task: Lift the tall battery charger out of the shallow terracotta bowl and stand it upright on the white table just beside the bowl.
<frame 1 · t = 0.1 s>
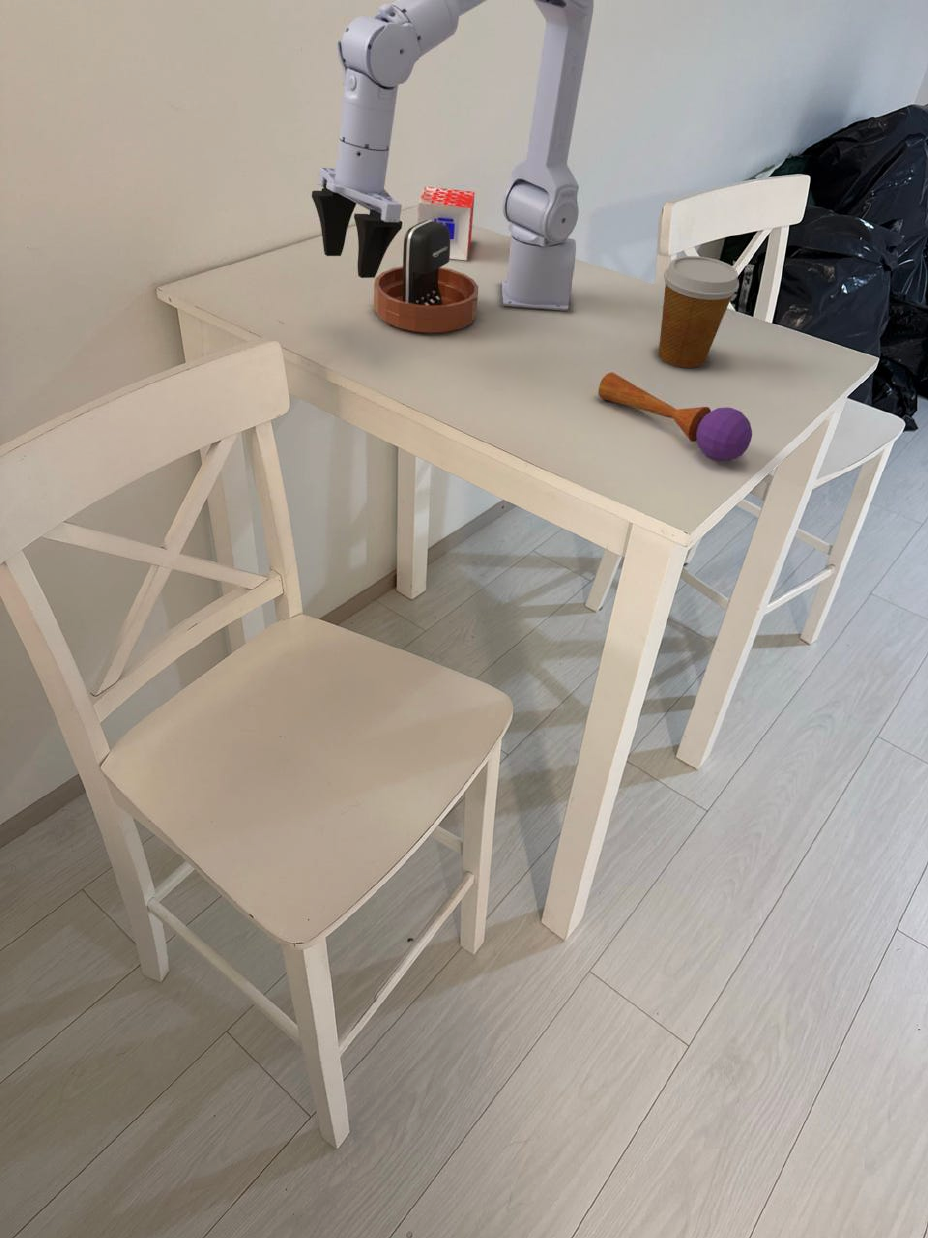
hand: (349, 265, 111), 11 cm above the table, tool pointing down, fingers open, 7 cm apart
battery charger: (425, 311, 127), resting on bowl
bowl: (425, 313, 127), on the table
disposable coffee cup: (681, 358, 123), on the table
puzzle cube: (444, 249, 146), on the table
kendama: (668, 432, 108), on the table
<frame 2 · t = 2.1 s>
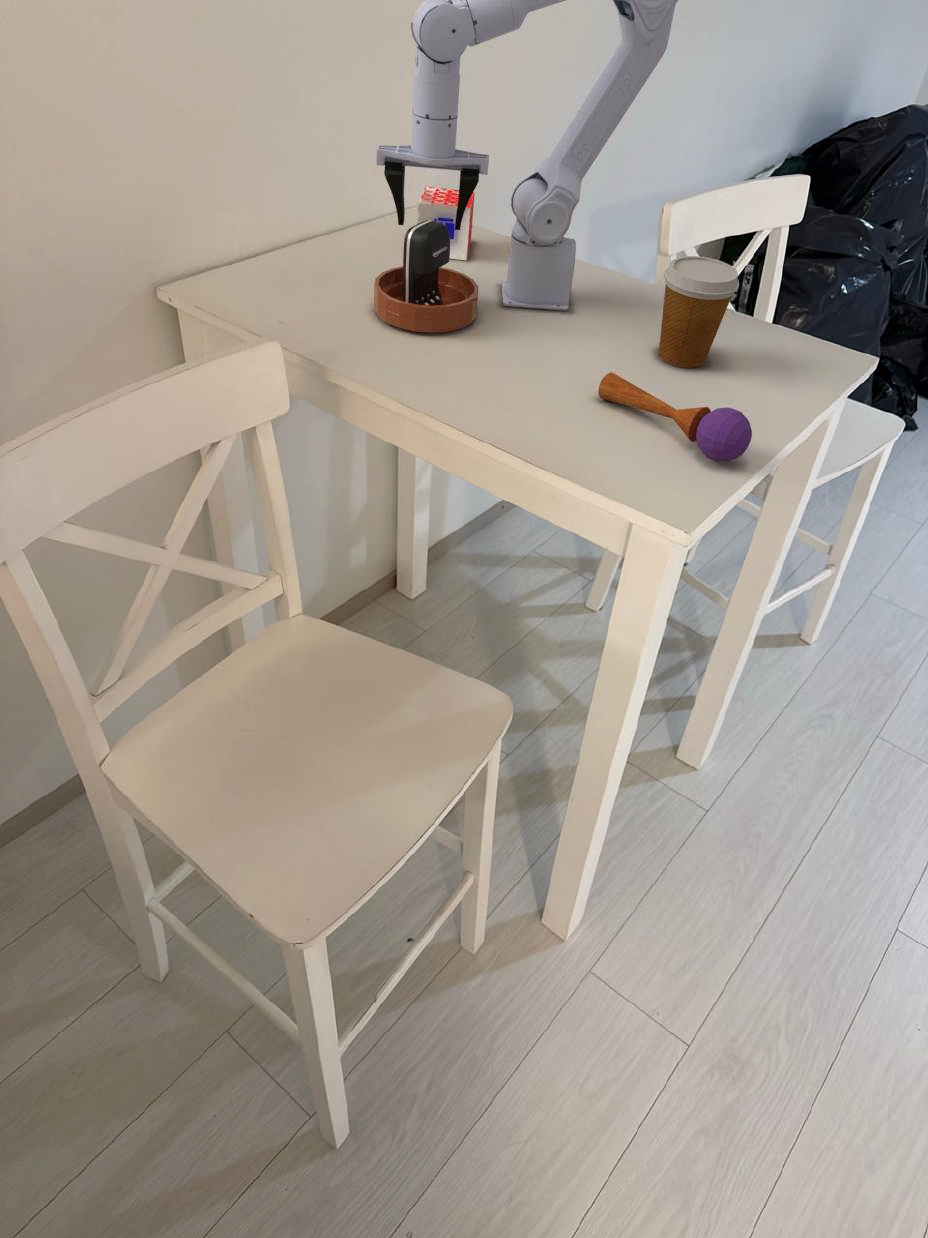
hand: (429, 224, 123), 10 cm above the table, tool pointing down, fingers open, 7 cm apart
nothing on the table moved.
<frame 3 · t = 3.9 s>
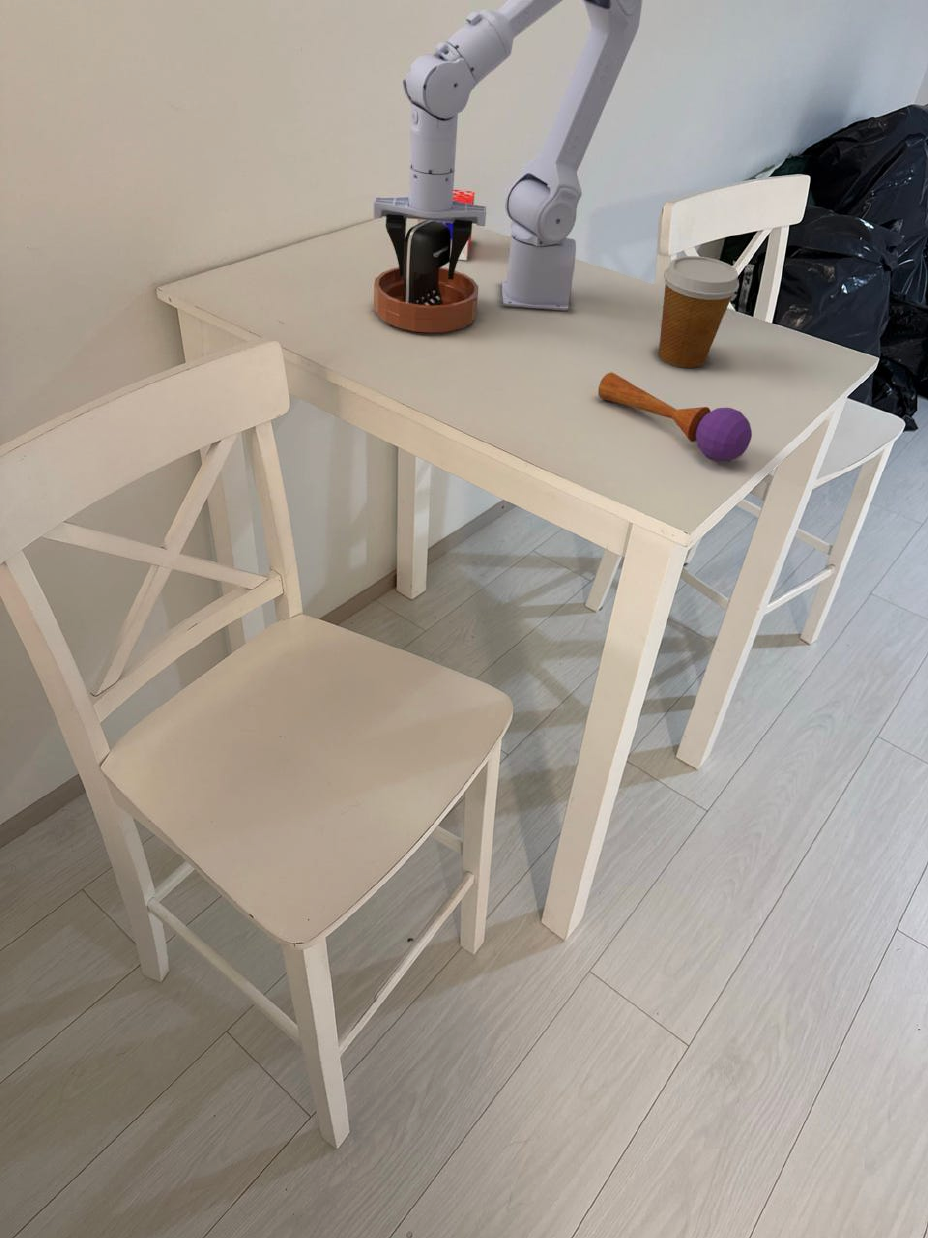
hand: (427, 274, 123), 5 cm above the table, tool pointing down, fingers closed on battery charger, 6 cm apart
battery charger: (425, 310, 127), resting on bowl, touching gripper
everything else where it was.
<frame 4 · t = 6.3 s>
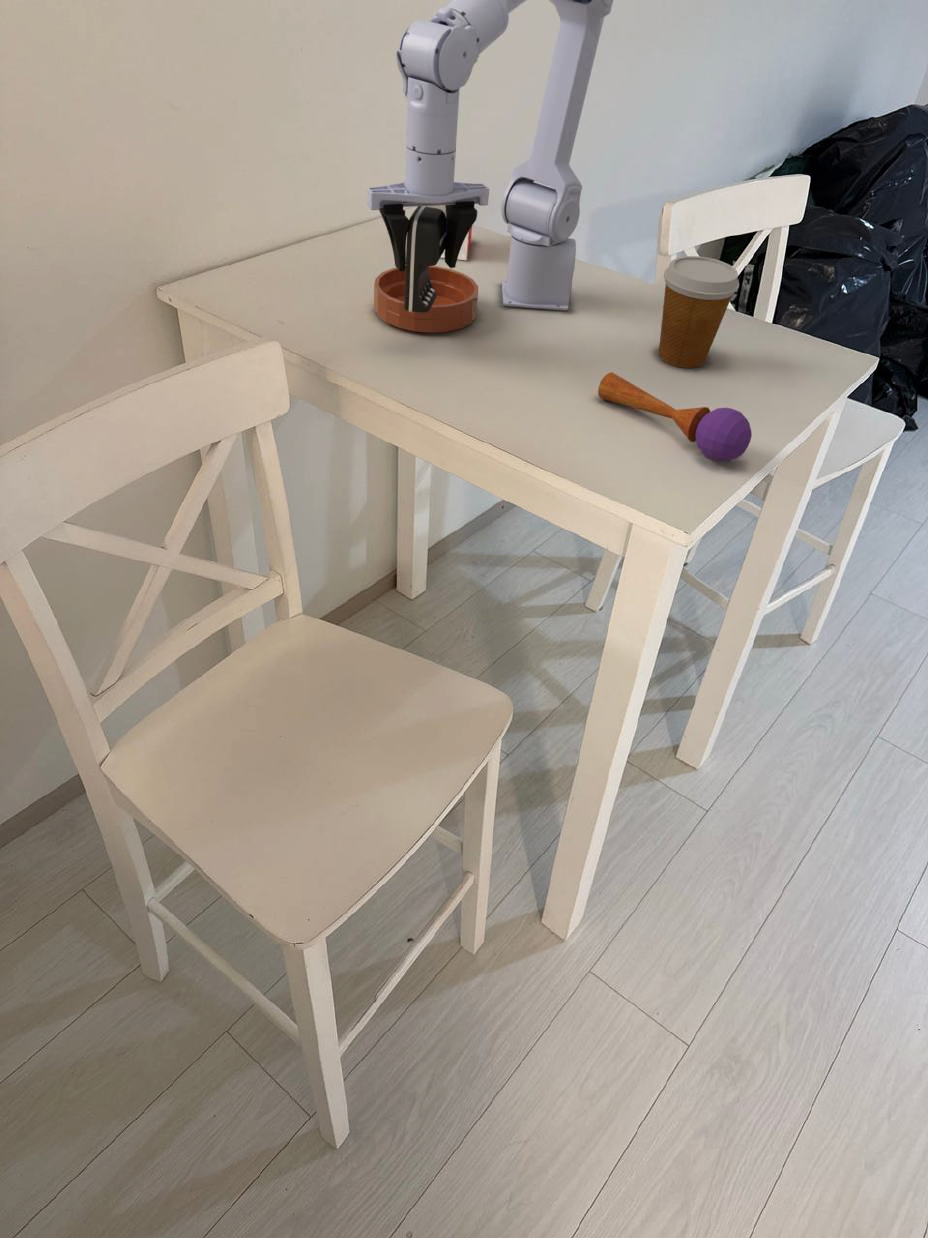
hand: (425, 266, 112), 10 cm above the table, tool pointing down, fingers closed on battery charger, 6 cm apart
battery charger: (423, 306, 116), point 5 cm above the table, touching gripper
everything else where it was.
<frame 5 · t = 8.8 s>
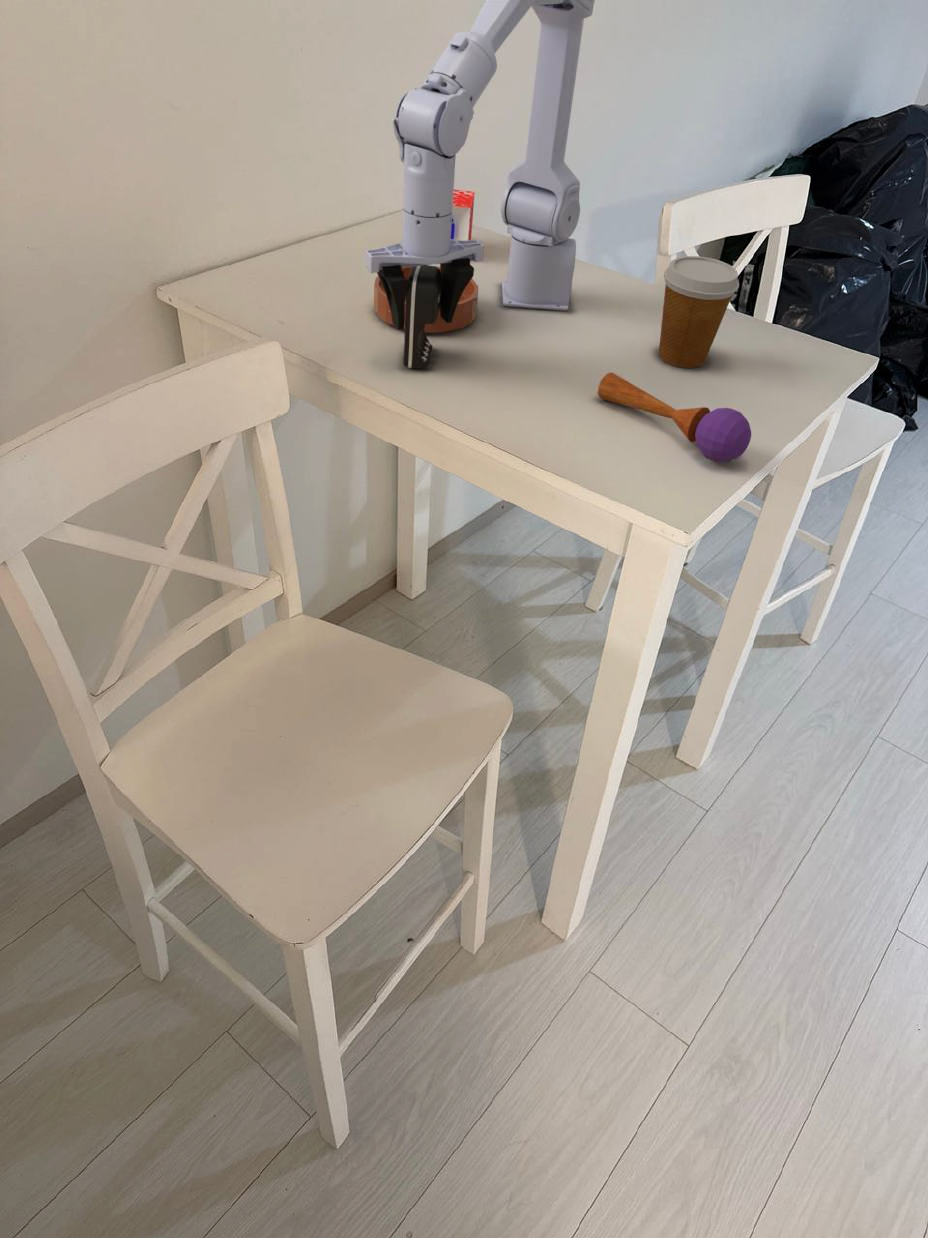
hand: (422, 322, 113), 5 cm above the table, tool pointing down, fingers closed on battery charger, 6 cm apart
battery charger: (420, 360, 117), on the table, touching gripper
everything else where it was.
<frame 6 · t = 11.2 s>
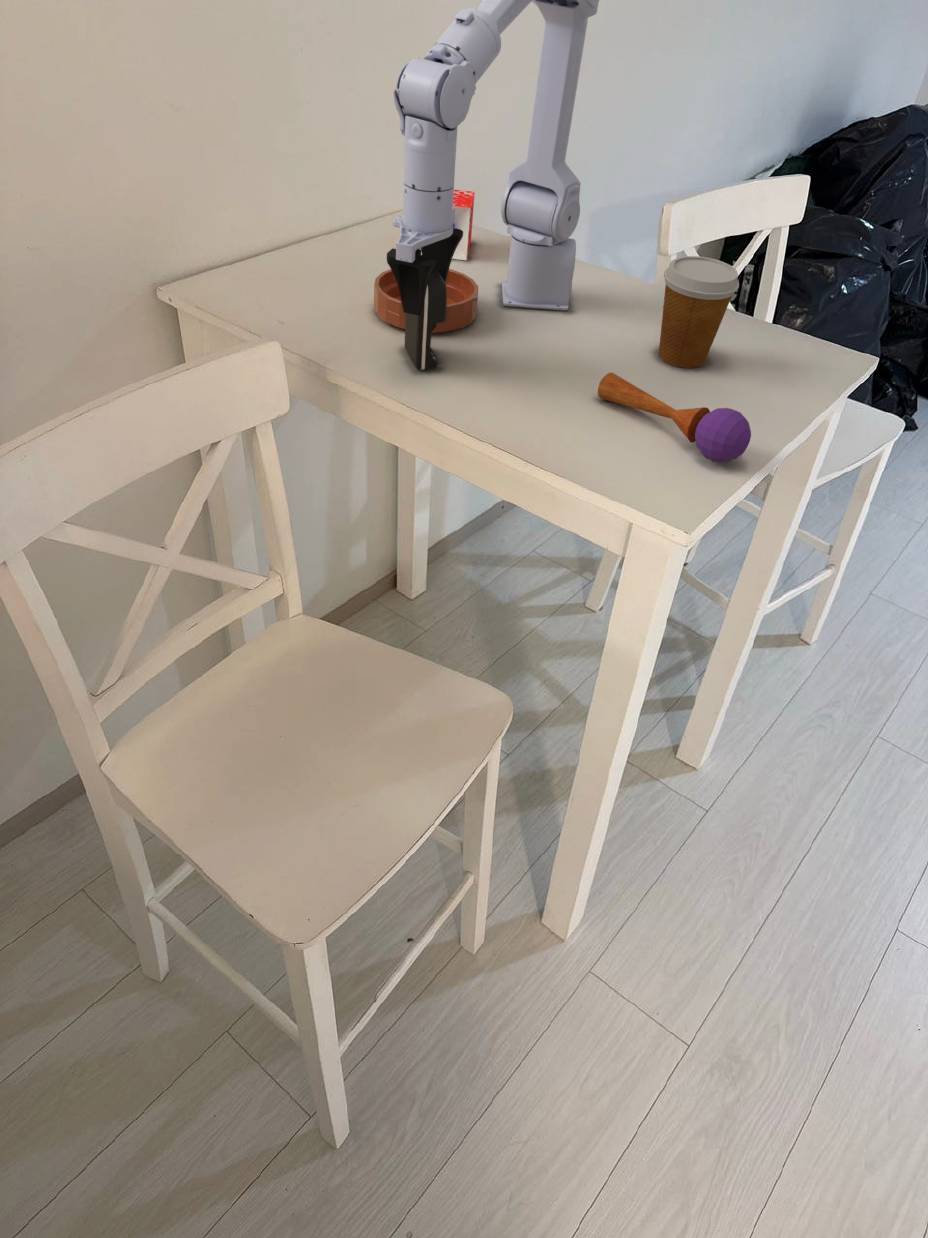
hand: (423, 300, 111), 8 cm above the table, tool pointing down
battery charger: (424, 360, 117), on the table, touching gripper
everything else where it was.
when the fingers open (10 cm above the table, at t = 13.3 s): battery charger stays where it is, on the table.
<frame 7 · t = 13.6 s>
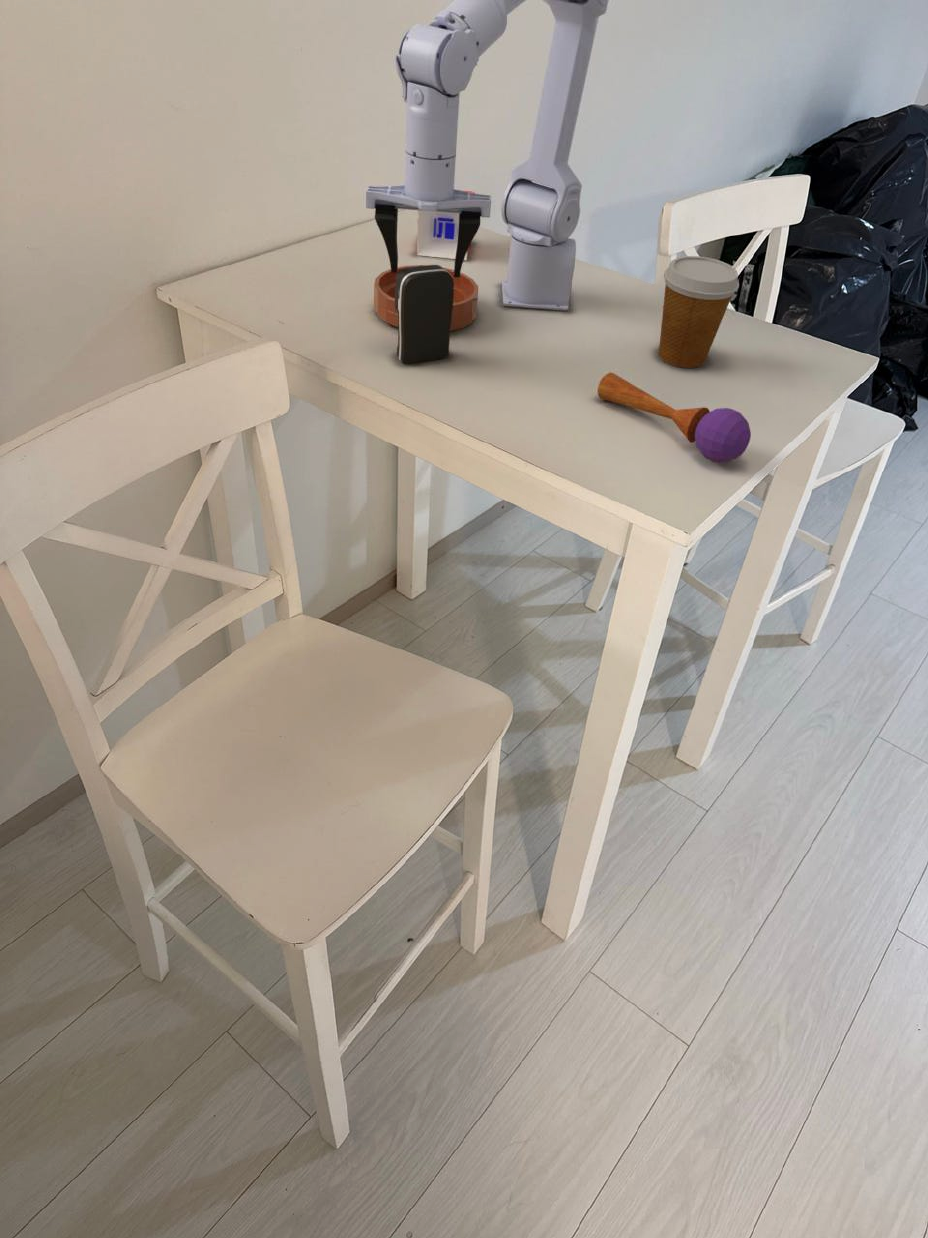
hand: (425, 271, 111), 10 cm above the table, tool pointing down, fingers open, 7 cm apart
battery charger: (420, 357, 117), on the table
everything else where it was.
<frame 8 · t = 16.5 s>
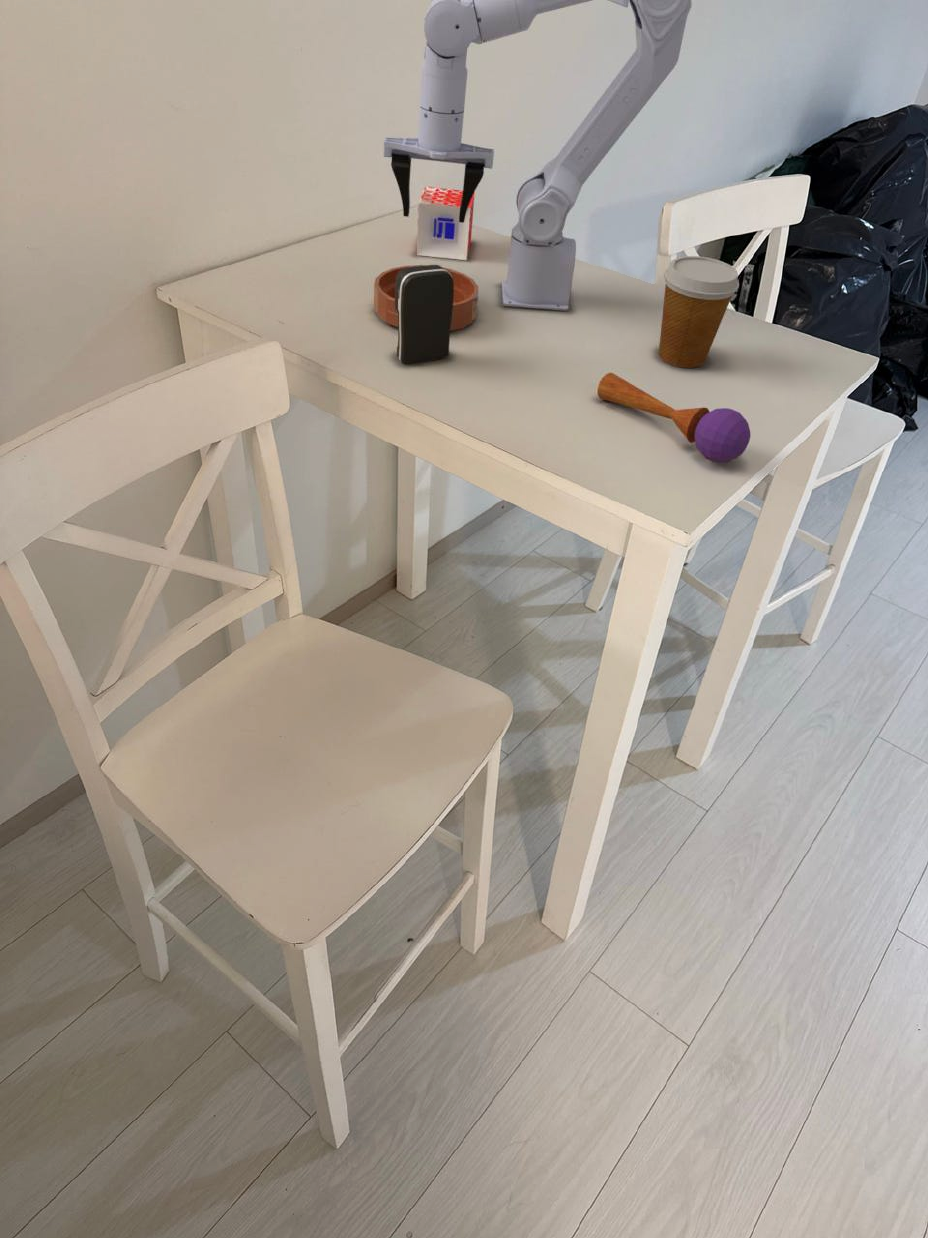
hand: (434, 216, 126), 10 cm above the table, tool pointing down, fingers open, 7 cm apart
nothing on the table moved.
at the end: battery charger inside the target area (1.4 cm from its centre), on the table; battery charger tilted 0°; the gripper is holding nothing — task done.
